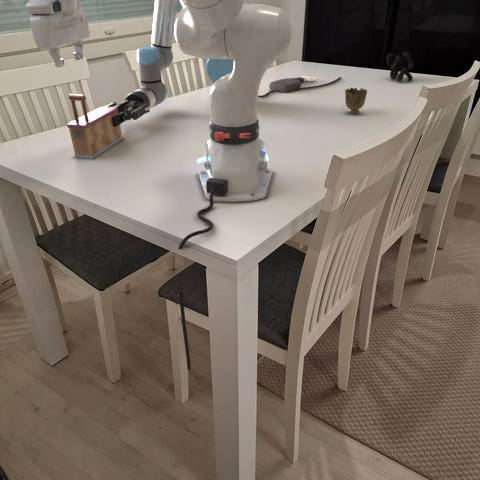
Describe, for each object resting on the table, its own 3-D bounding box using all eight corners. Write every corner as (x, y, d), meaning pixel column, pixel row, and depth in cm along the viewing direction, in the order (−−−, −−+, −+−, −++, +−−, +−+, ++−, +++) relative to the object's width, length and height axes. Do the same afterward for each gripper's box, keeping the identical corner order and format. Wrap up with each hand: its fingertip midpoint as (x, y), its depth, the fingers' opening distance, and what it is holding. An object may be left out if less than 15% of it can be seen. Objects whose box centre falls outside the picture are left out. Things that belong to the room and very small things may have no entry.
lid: (85, 129, 121) (78, 98, 116) (67, 127, 122) (60, 97, 118) (118, 111, 135) (113, 83, 131) (101, 109, 136) (96, 82, 132)
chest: (92, 158, 126) (86, 128, 121) (75, 157, 127) (68, 127, 123) (122, 138, 140) (118, 111, 135) (106, 137, 141) (101, 110, 136)
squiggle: (400, 92, 202) (376, 71, 205) (417, 76, 202) (392, 56, 205) (405, 81, 191) (380, 59, 194) (423, 64, 191) (397, 42, 194)
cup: (340, 114, 157) (342, 91, 153) (346, 109, 163) (348, 86, 159) (361, 116, 154) (364, 93, 150) (366, 111, 160) (369, 88, 156)
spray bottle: (266, 89, 189) (298, 79, 205) (288, 93, 183) (318, 83, 199) (266, 82, 188) (298, 73, 204) (288, 85, 182) (319, 76, 198)
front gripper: (68, -1, 117) (79, 55, 125) (20, 6, 100) (36, 70, 108) (90, -1, 116) (99, 56, 123) (45, 6, 99) (60, 71, 106)
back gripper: (166, 114, 152) (134, 136, 133) (117, 110, 157) (80, 131, 138) (163, 91, 148) (130, 111, 129) (114, 88, 153) (74, 107, 134)
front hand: (70, 63), depth 115 cm, fingers open, 8 cm apart
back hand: (104, 121), depth 134 cm, fingers closed on chest, 6 cm apart
